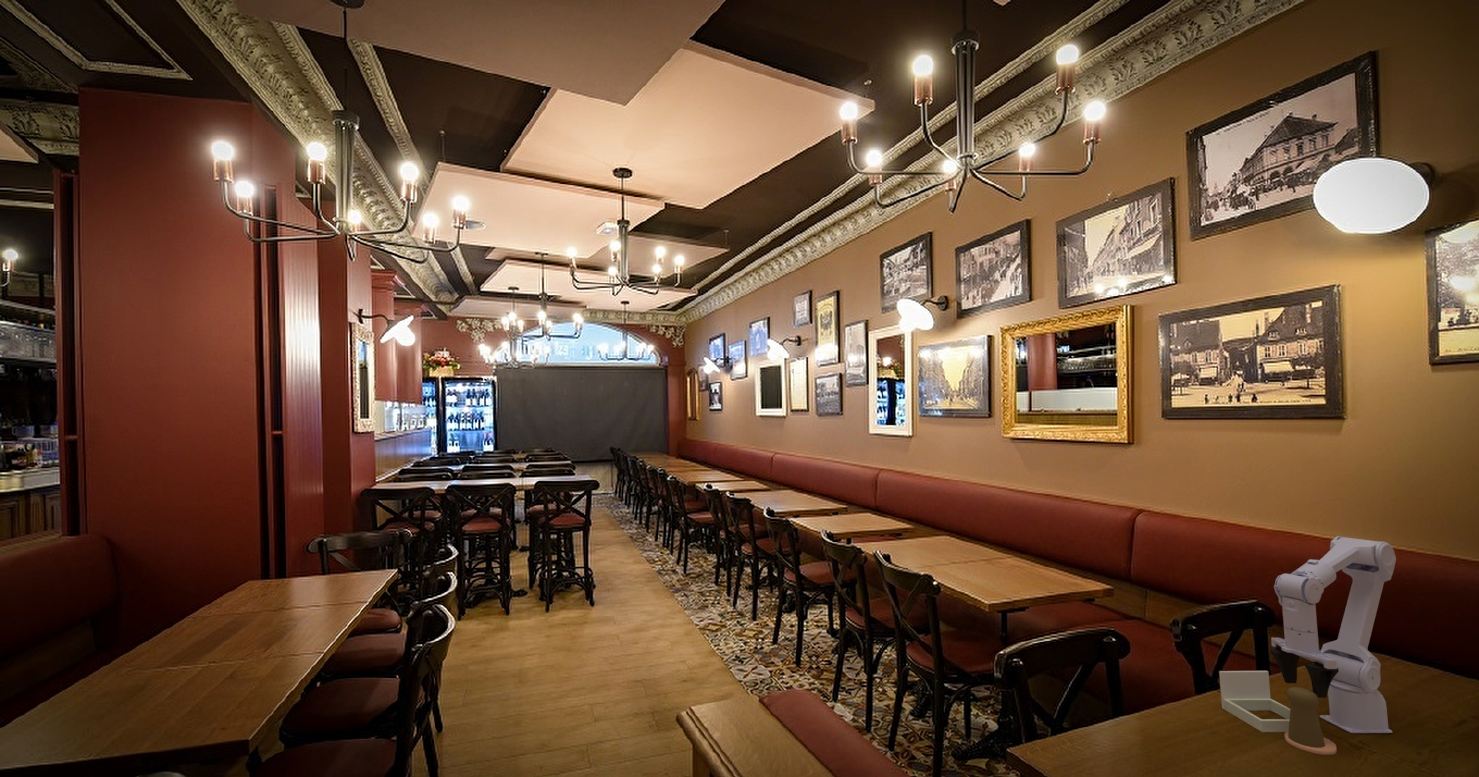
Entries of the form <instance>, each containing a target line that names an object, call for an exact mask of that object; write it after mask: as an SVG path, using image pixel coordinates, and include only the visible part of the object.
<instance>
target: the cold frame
mask: <svg viewBox="0 0 1479 777" xmlns="http://www.w3.org/2000/svg"><path fill="white" fill-rule="evenodd" d="M1218 674H1219V687H1220V698H1221V699H1220V700H1221V708H1222V710H1224V711H1226V712H1228V713H1229V714H1231V715H1233V716H1235V717H1236V718H1238V719H1240V720H1241V721H1243V722H1245V723H1246V724H1247V725H1249V726H1251V727H1252V728H1254V729H1256V730H1258V731H1259V732H1261V733H1285V732H1287V731H1289V720H1290V709H1291V707H1290V708H1289V707H1287V706H1285V705H1284V704H1282V703H1280V702H1278V701H1276V700H1274V699H1273V698H1271V689H1270V687H1271V686H1270V675H1269V671H1268V670H1226V671H1225V670H1223V671H1222V670H1218ZM1250 711H1271V712H1273V713H1275V714H1276V715H1279V716H1280V717H1283V718H1280V719H1279V718H1275V719H1274V718H1271V719H1269V718H1266V719H1265V718H1264V719H1262V718H1260V717H1258V716H1257V715H1255V714H1253V713H1252V712H1250Z"/></svg>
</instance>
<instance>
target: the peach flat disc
mask: <svg viewBox="0 0 1479 777" xmlns="http://www.w3.org/2000/svg"><path fill="white" fill-rule="evenodd" d="M1323 738H1324V742H1325V747H1322V748H1314V747H1308V746H1304V745H1301V744H1298V743H1296V742H1294V741H1292V740H1290V739H1289V738H1288V731H1287V732H1284V740H1285V742H1286V743H1287V744H1289V745H1290V746H1293V747H1294V748H1296V749H1299V750H1301V751H1303V752H1308V753H1311V754H1317V755H1322V756H1330V755H1335V754H1337V753H1338V752H1337V751H1338V748H1337V744H1335V742H1333V741H1332V740H1330V739H1328V738H1326V737H1324V736H1323Z"/></svg>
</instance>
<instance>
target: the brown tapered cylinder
mask: <svg viewBox="0 0 1479 777" xmlns="http://www.w3.org/2000/svg"><path fill="white" fill-rule="evenodd" d="M1286 696H1287V699H1288V701H1289V702H1290V720H1289V731H1288V738H1289V739H1290V740H1292V741H1294V742H1296V743H1298V744H1301V745H1304V746H1308V747H1314V748H1322V747H1325V742H1324V738H1325V737H1324V735H1323V734H1324V733H1323V731H1322V727H1321V722H1320V719H1319V718H1320V717H1319V714H1318V710H1317V707H1318V706H1319V705H1320V702H1319V701H1320V700H1319V699H1320V698H1318V697H1317V695H1316V694H1315V693H1314V692H1313V690H1311V689H1307V688H1304V687H1299V686H1298V687H1297V686H1292V687H1290V688H1288V689H1287V691H1286ZM1323 737H1324V738H1323Z"/></svg>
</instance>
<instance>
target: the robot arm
mask: <svg viewBox="0 0 1479 777" xmlns="http://www.w3.org/2000/svg"><path fill="white" fill-rule="evenodd" d="M1396 562H1397V557H1396V554H1395V550H1394V548H1393V546H1392V545H1391V544H1390V543H1389V542H1387V541H1376V540H1371V539H1370V540H1368V539H1361V538H1352V537H1345V536H1343V535H1337V536H1336V537H1334V538H1333V539H1332V540H1330V544H1329V550H1328V552H1327V553H1326V554H1324V556H1322V558H1320V559H1312V558H1311V559H1308V560H1307V561H1306V562H1305V563H1304V564H1303V565H1302V566H1299V568H1296V569H1295V570H1294V571H1292V572H1291V573H1282V574H1280V575H1278V576H1277V577H1276V579H1275V582H1274V585H1273V589H1274V593H1275V594H1276V596H1277V597H1278V603H1279V605H1280V606H1282V619H1283V620H1282V621H1283V632H1284V638H1281V637H1271V647H1274V648H1273V649H1269V652H1270V654H1271V655H1272V656H1273V659H1274V660H1275V662H1276V663H1277V665H1278V668H1279V670H1280V673H1281V675H1282V678H1283V680H1284V683H1286V684H1297V681H1298V663H1299V660H1300V657H1301V658H1304V659H1306V660H1308V661H1310V662H1313V663H1304V666H1305V669H1306V670H1307V673H1308V676H1309V678H1310V682H1311V688H1312V692H1314V693H1315V694H1316V695H1317V697H1318V699H1320V698H1322V699H1323V698H1324V699H1325V698H1327V697H1328V706H1329V707H1328V708H1329V714H1325V715H1324V714H1321V715H1319V718H1321V719H1322V720H1324V721H1326V722H1328V723H1330V724H1332V725H1334V726H1336V727H1338V728H1340V729H1341V730H1344V731H1346V732H1348V733H1350V734H1390V733H1391V734H1393V730H1392V729H1390V728H1389V721H1388V720H1389V719H1388V709H1387V702H1386V699H1385V698H1384V695H1382V693H1381V692H1380V691H1379V690H1378V688H1379V687H1380V684H1381V681H1382V680H1381V679H1382V678H1381V662H1380V661H1379V660H1378V658H1377V657H1376V656H1375V655H1374V654H1372V653H1371V652H1370V651H1369V650H1368V647H1369V644H1370V640H1371V636H1372V632H1373V627H1374V623H1375V619H1376V616H1377V611H1378V608H1379V604H1380V599H1381V595H1382V592H1383V589H1384V588H1383V587H1384V584H1385V583H1386V582H1388V581H1391V580H1392V576H1393V574H1394V570H1395V567H1396V566H1395V565H1396ZM1341 570H1342V572H1343V573H1344V574H1346V575H1348V576H1350V577H1351V579H1352V583H1351V586H1350V590H1349V594H1348V598H1347V602H1346V605H1345V610H1344V613H1343V617H1342V620H1341V624H1340V628H1339V631H1338V636H1337V639H1336V640H1333V641H1328V642H1326V643H1323V644H1322V647H1321V649H1320V644H1319V634H1318V633H1319V632H1318V621H1317V619H1318V618H1317V608H1316V604H1317V603H1319V602H1320V600H1321V598H1322V594H1323V593H1324V591H1325V590H1324V589H1325V588H1327V587H1329V585H1331V584H1332V583H1334V581H1336V579H1337V572H1339V571H1341Z"/></svg>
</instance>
